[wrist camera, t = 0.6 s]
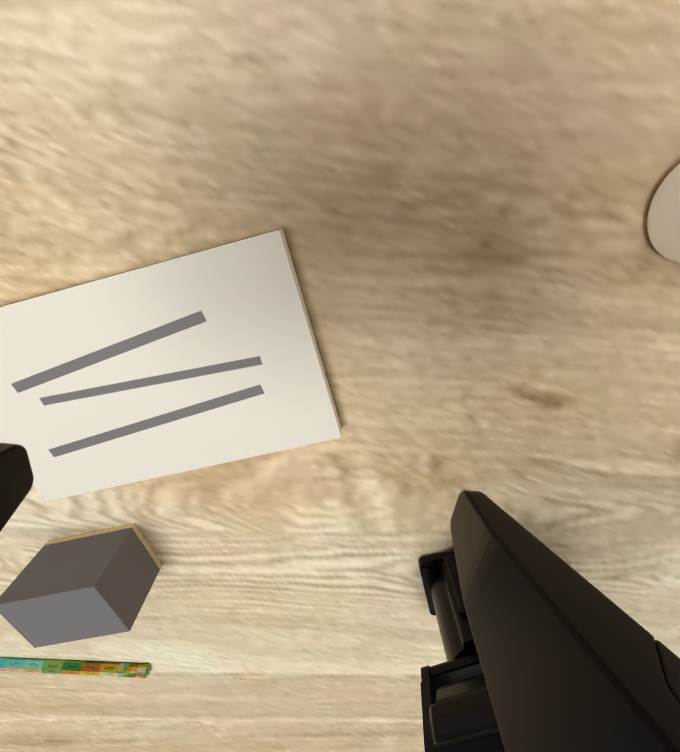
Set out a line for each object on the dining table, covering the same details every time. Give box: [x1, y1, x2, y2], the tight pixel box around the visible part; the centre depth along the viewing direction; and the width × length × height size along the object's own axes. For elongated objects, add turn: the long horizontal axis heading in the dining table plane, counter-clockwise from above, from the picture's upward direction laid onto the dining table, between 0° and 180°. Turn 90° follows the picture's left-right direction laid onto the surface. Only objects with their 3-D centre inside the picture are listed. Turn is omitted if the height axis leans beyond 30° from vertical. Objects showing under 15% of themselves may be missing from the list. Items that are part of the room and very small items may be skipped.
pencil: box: [0, 657, 151, 679], centre depth 34 cm, size 1×1×18 cm
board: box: [0, 229, 342, 502], centre depth 21 cm, size 12×20×1 cm, turn 104°
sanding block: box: [0, 523, 162, 648], centre depth 26 cm, size 4×7×5 cm, turn 104°
